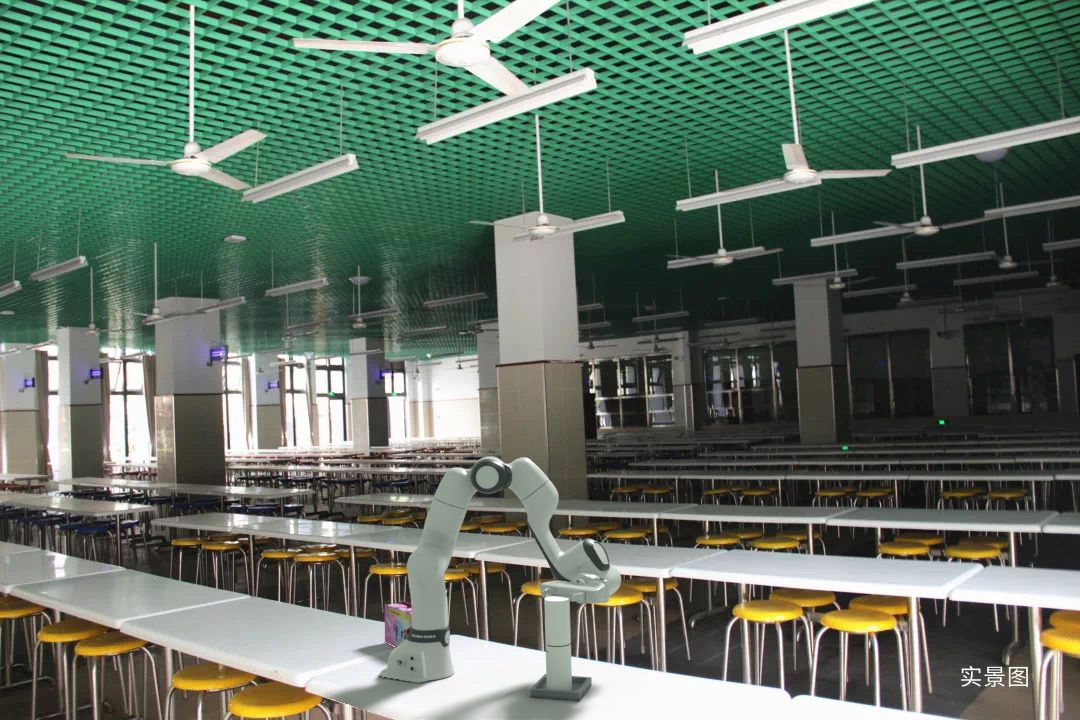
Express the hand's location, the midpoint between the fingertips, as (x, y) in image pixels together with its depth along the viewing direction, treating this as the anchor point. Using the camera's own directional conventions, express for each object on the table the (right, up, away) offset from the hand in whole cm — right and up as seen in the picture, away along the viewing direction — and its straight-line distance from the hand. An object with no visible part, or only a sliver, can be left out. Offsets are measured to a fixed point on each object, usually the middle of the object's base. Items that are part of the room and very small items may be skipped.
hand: (556, 596), depth 231 cm
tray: (+1, -26, -1) cm, 26 cm away
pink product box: (-50, -32, +48) cm, 76 cm away
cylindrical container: (+1, -26, -1) cm, 26 cm away
